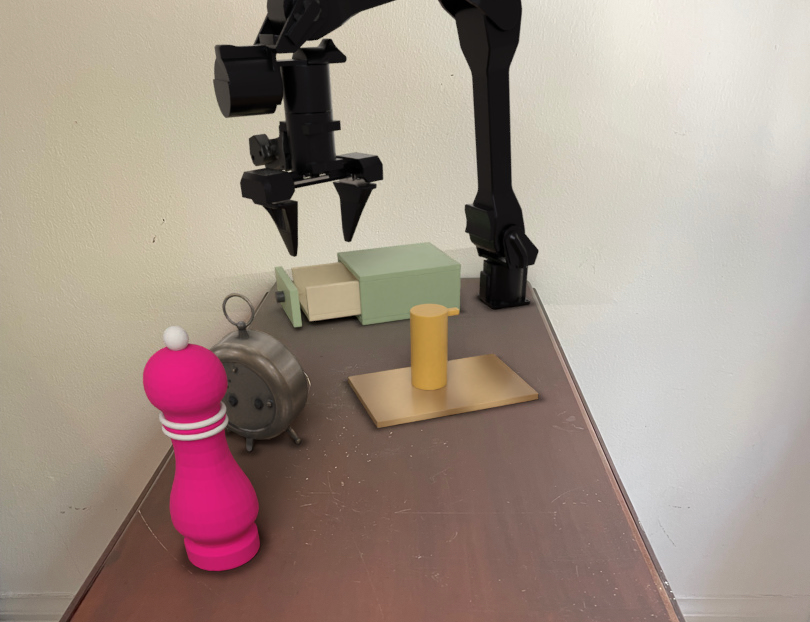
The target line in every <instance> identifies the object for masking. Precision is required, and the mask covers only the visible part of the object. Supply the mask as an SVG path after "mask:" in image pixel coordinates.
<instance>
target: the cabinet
mask: <svg viewBox="0 0 810 622" xmlns="http://www.w3.org/2000/svg"><path fill="white" fill-rule="evenodd" d="M336 256H337V257H336V258H337V262H342V263H343V264H344V265H345V266H346V267H347V268H348V270H349V271H350V272H351V273H352V274H353V275H354V276H355V277H356V278H357V279H358V280H359V290H360V306H361V314H359V315H354V316H355V317H356V318H357V320H358V321H359V322H360V324H361V325H362V326H366V325H374V324H375V325H376V324H381V323H387V322H388V323H389V322H394V321H403V320H410V309H411V308H412V307H414V306H417V305H421V304H438V305H442V306H445V307H446V308H454V307H456V308H458V309H459V312H460V311H461V276H462V275H461V273H462V271H461V270H462V264H461V263H460V262H459V261H457V260H456V259H455V258H453V257H452V256H450V255H449V254H447V253H446V252H444V251H443V250H442V249H440V248H439V247H437V246H436V245H435V244H433V243H432V242H431V241H425V242H418V243H417V242H416V243H407V244H400V245H399V244H398V245H392V246H383V247H382V246H381V247H374V248H365V249H357V250H348V251H340V252H337V253H336Z"/></svg>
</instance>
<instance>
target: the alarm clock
mask: <svg viewBox="0 0 810 622" xmlns="http://www.w3.org/2000/svg"><path fill="white" fill-rule="evenodd" d="M233 297H237V298H241V299H242V300H243V301H245V302H246V303H247V305H248V306H249V307H250V311H251V312H250V313H251V317H250V320H249V321H248V322H247V323H246V322H245V321H244V320H239V321H237V322H235V321H233V320H232V319H231V318H230V317H229V315H228V313H227V310H226V309H227V308H226V305H227V302H228V301H229V300H230V299H231V298H233ZM221 308H222V312H223V315H224V317H225V319H226V320H227V321H228V322H229V323H230V324H231V325H232V326H235V327H236V328H237V329H235V330H233V331H230V332H229V333H227V334H226V335H224V336H223V337H222V338H221V339H220V340H219V341H218V342H217V343H215V344H214V345H213V346H212V347H210V348H209V350H210V351H212V352H213V353H214V354H215V355H216V356H217V357H218V358H219V360H220V361H221V363H222V364H223V367H224V369H225V372H226V375H227V383H228V386H227V391H226V393H225V396H224V397H223V399H222V400H221V401H222V402H223V403H224V404H225V406H226V414H227V416H228V424H227V426H226V427H225V429H226V431H227V432H228V433H231V432H232V433H234V434H236V435H239V436H241V437H244V438H245V441H246V445H245V446H246V447H245V448H246V451H247V452H251V451H253V443H254V440H269V439H273V438H276V437H278V436H280V435H281V434H283V433H284V432H286V433H287V435H289V436H290V437H291V438H292V439H293V440H294V443H295V444H296V445H299V444H301V442H302V439H301V438H299V436H298V434H297V432H296V431H295V430H294V429H293V428H292V426H291V425H292V424H293V423H294V422H295V420H296V419H297V418H298V417H299V416H300V415H301V413H303V411H304V409H305V407H306V405H307V401H308V396H309V387H308V386H309V385H308V380H307V376H306V373H305V371H304V368H303V367H302V365H301V363H300V360H298V358H297V357H296V355H295V354H294V353H293V351H292V350H291V349H290V348H288V347H287V346H286V345H285V344H284V343H283V342H282V341H281V340H279V339H278V338H276V337H275V336H274V335H272V334H269V333H267V332H264V331H262V330H258V329H253V328H247V327H248V326H250V325H251V324H252V322H253V321H254V319H255V308H254V305H253V303H252V302H251V300H250V299H249V298H248V297H246V296H245V294H244V295H243V294H241V293H239V292H232V293H229V294H227V295H226V296H225V297H224V299H223V300H222V304H221Z"/></svg>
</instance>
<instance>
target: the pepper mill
mask: <svg viewBox="0 0 810 622" xmlns="http://www.w3.org/2000/svg"><path fill="white" fill-rule="evenodd" d="M162 340H163V341H162V342H163V343H164V347H162V348H159V349H158V350H157V351H155V353H153V354H152V355H151V356H150V357H149V358H148V360H147V362H146V363H145V365H144V368H143V371H142V386H143V391H144V393H145V396H146V398H147V400H148V401H149V403H150V404H151V405H152V406H153V407H154V408H155V409H157V410H159V411H160V412H159V414H158V421H159V422H160V423H161V430H162V433H163V434H164V435H165V436H166V437H168V438H169V439H170V441H171V444H172V447H173V453H174V458H175V471H174V476H173V477H174V478H173V482H172V486H171V490H170V494H169V513H170V514H169V515H170V518H171V523H172V525H173V527H174V529H175V530H176V531H177V532H178V533H179V535H182V537H183V543H184V547H185V548H184V549H185V551H186V555H187V558H188V561H189V562H190V563H191V564H192V565H193V566H195V567H197V568H199V569H201V570H204V571H210V572H221V571H223V572H224V571H228V570H233V569H236V568H239V567H241V566H243V565H245V564H246V563H248V562H249V561H251V560H252V559H253V558H254V557H255V556H256V554H257V553H259V549H260V547H261V546H260V545H261V541H260V535H259V529H258V526H257V524H256V522H255V521H256V519H257V518H258V515H259V511H260V505H259V504H260V503H259V499H258V496H257V493H256V490H255V488H254V486H253V484H252V482H251V480H250V479H249V477H248V476H247V475H246V473H245V472H244V470H242V468H241V466H240V465H239V464H238V462H237V461H236V459H235V458H234V456H233V454H232V452H231V450H230V447H229V444H228V441H227V437H226V430H225V429H226V426H227V424H228V416H227V414H226V406H225V404H224V403H223V402H222V401H221V400H222V399H223V397H224V396H225V393H226V391H227V386H228V383H227V375H226V372H225V369H224V367H223V364H222V363H221V361H220V360H219V358H218V357H217V356H216V355H215V354H214V353H213V352H212V351H210V348H209V349H208V348H207V347H204V346H203V345H200V344H196V343H190V338H189V334H188V332H187V331H186V329H184V328H183V327H182V326H180V325H170V326H168V327H167V328H165V329H164V331H163V333H162Z"/></svg>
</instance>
